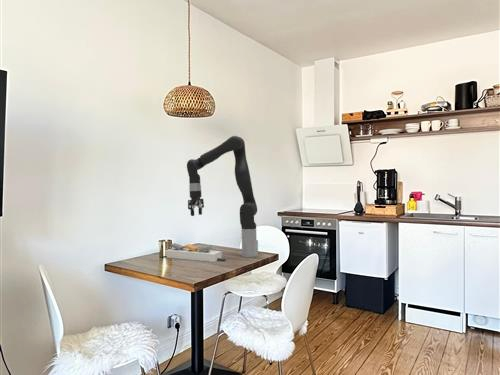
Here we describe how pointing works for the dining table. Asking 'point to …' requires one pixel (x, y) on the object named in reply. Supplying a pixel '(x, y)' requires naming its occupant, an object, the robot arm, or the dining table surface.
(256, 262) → the dining table surface
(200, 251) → the rocker near
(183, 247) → the rocker far
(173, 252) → the power strip
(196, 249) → the rocker middle
